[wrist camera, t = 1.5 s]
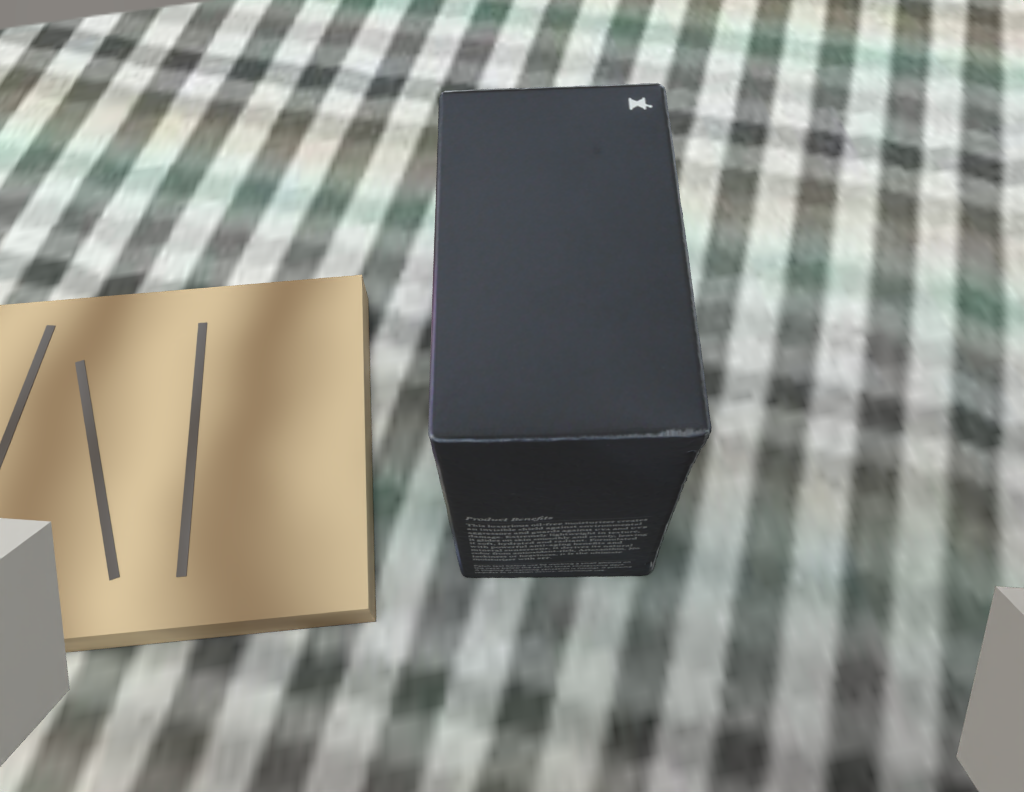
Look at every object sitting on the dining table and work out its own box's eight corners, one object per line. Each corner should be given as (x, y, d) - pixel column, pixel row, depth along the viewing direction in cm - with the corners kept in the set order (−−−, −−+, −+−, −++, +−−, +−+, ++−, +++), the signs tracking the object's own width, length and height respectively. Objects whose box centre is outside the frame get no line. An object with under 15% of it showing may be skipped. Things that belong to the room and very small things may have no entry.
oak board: (368, 298, 32) (361, 274, 31) (375, 621, 27) (368, 608, 25) (-157, 343, 31) (-187, 319, 30) (-265, 685, 26) (-309, 675, 24)
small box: (454, 303, 32) (428, 77, 23) (630, 300, 32) (674, 72, 23) (449, 583, 27) (413, 437, 18) (657, 578, 27) (728, 431, 18)
